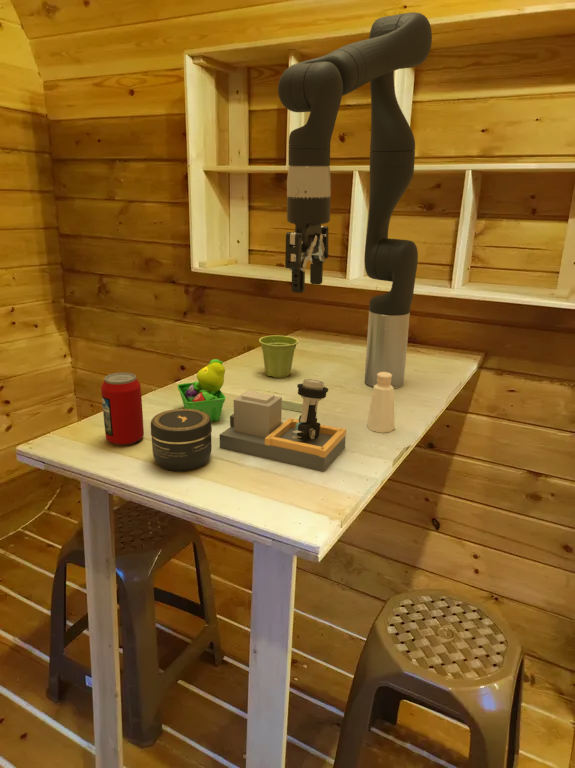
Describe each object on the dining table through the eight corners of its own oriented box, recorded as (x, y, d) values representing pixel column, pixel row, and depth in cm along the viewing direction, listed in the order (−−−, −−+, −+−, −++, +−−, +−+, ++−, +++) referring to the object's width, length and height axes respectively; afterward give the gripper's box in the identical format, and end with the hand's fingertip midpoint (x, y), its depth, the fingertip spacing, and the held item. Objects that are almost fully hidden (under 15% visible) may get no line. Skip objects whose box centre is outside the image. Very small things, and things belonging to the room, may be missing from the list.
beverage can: (112, 431, 110) (107, 370, 106) (148, 432, 110) (144, 371, 106) (100, 447, 104) (94, 383, 100) (138, 448, 104) (133, 384, 100)
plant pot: (290, 367, 149) (290, 334, 147) (302, 378, 141) (303, 343, 138) (254, 370, 147) (254, 336, 144) (265, 382, 138) (265, 346, 135)
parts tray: (264, 403, 125) (264, 395, 124) (314, 413, 120) (315, 404, 120) (237, 422, 115) (237, 414, 114) (291, 433, 110) (291, 424, 110)
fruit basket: (177, 406, 122) (174, 355, 119) (218, 402, 125) (217, 351, 122) (188, 427, 112) (186, 371, 109) (233, 422, 115) (232, 367, 112)
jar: (185, 442, 106) (183, 403, 104) (224, 458, 100) (223, 417, 98) (140, 461, 99) (137, 419, 96) (180, 480, 93) (177, 436, 90)
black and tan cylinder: (305, 445, 97) (314, 386, 95) (279, 436, 100) (287, 379, 98) (326, 439, 102) (335, 383, 101) (301, 431, 105) (309, 377, 104)
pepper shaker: (393, 434, 111) (397, 379, 107) (364, 431, 112) (368, 376, 109) (396, 423, 116) (400, 370, 112) (368, 420, 117) (372, 368, 114)
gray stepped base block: (246, 427, 113) (245, 382, 110) (345, 448, 105) (347, 400, 102) (218, 447, 104) (217, 399, 101) (324, 471, 96) (326, 420, 93)
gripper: (313, 196, 93) (311, 297, 99) (343, 193, 105) (340, 282, 111) (271, 195, 96) (271, 293, 102) (304, 192, 108) (303, 279, 114)
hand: (307, 287), depth 106 cm, fingers open, 8 cm apart
